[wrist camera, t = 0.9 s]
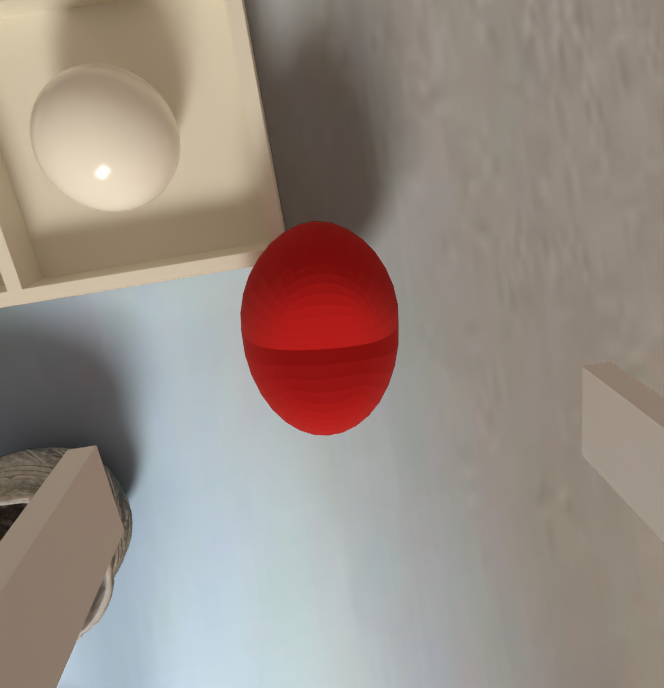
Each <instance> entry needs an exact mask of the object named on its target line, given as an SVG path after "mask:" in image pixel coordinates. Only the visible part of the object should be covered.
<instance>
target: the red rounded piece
mask: <svg viewBox="0 0 664 688" xmlns="http://www.w3.org/2000/svg"><path fill="white" fill-rule="evenodd" d="M241 332H242V338H243V345H244V351H245V356H246V359H247V362H248V365H249V369H250V372H251V375H252V377H253V379H254V381H255V383H256V385H257V387H258V389H259V391H260V393H261V395H262V396H263V397H264V399H265V400H266V401H267V403H268V404H269V406H270V407H271V408H272V410H273V411H274V412H276V413H277V414H278V415H279V416H280V417H281V418H282V419H283V420H284V421H285V422H287V423H288V424H290V425H292V426H293V427H295V428H297V429H299V430H301V431H304V432H307V433H310V434H313V435H333V434H338V433H342V432H345V431H347V430H349V429H351V428H353V427H355V426H357V425H358V424H359V423H360V422H361V421H363V420H364V419H365V418H366V417H368V416H369V415H370V413H371V412H372V411H373V410H374V408H375V407H376V406H377V405H378V404H379V402H380V400H381V398H382V396H383V395H384V393H385V391H386V389H387V387H388V385H389V382H390V379H391V376H392V373H393V370H394V367H395V361H396V355H397V349H398V303H397V299H396V295H395V291H394V286H393V284H392V281H391V279H390V277H389V275H388V272H387V270H386V268H385V266H384V265H383V263H382V262H381V260H380V259H379V257H378V256H377V254H376V253H375V251H374V250H373V249H372V248H371V247H370V246H369V245H368V244H367V243H366V242H365V241H364V240H363V239H361V238H360V237H358V236H357V235H355V234H354V233H352V232H351V231H349V230H348V229H346V228H344V227H341V226H338V225H336V224H333V223H330V222H319V221H312V222H308V223H303V224H299V225H297V226H295V227H293V228H291V229H289V230H287V231H285V232H283V233H282V234H281V235H279V236H278V237H277V238H276V239H275V240H274V241H272V242H271V243H270V244H269V245H268V247H267V248H266V249H265V250H264V252H263V253H262V254H261V255H260V257H259V258H258V259H257V261H256V263H255V265H254V267H253V269H252V271H251V273H250V275H249V277H248V280H247V283H246V286H245V290H244V293H243V299H242V306H241Z"/></svg>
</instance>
